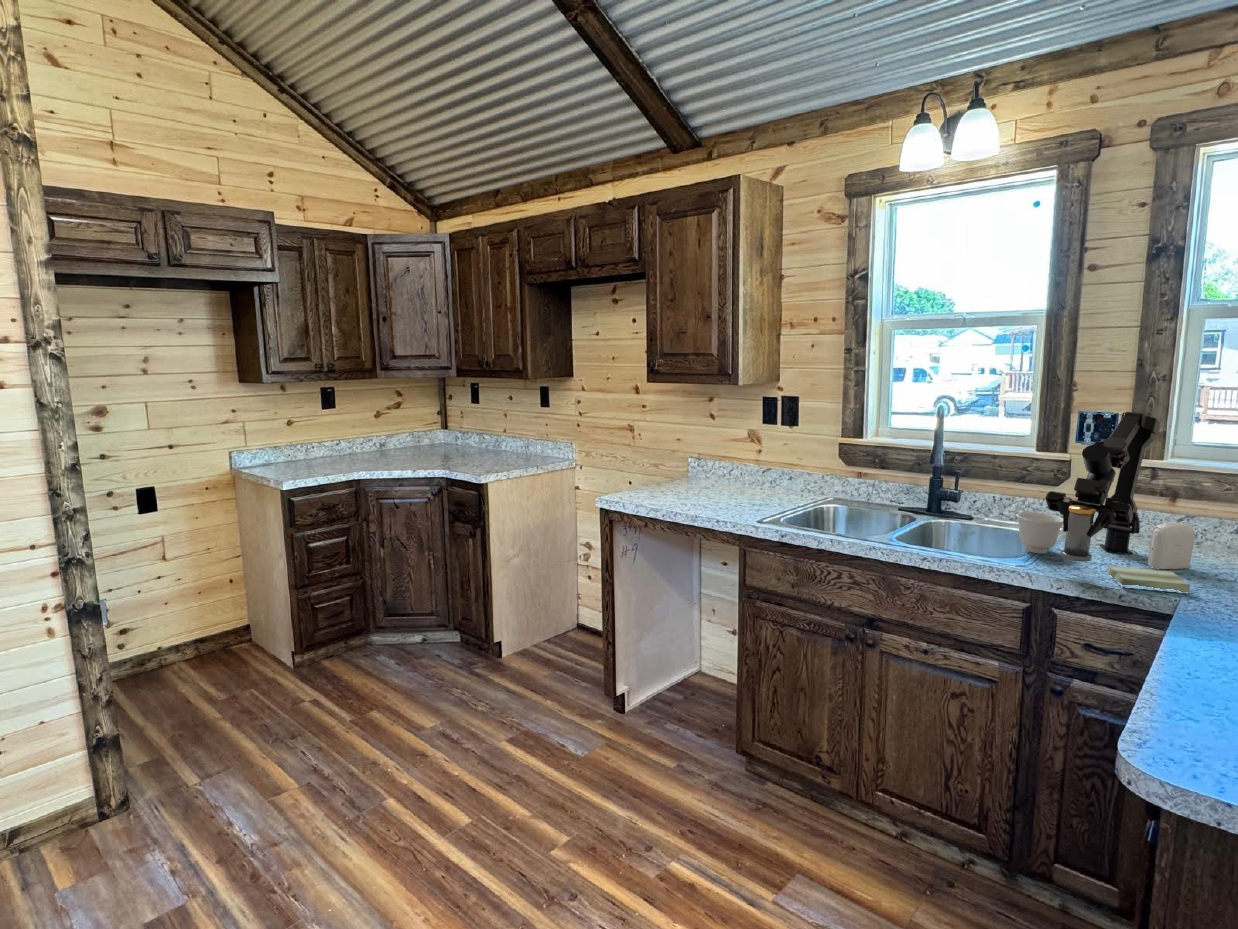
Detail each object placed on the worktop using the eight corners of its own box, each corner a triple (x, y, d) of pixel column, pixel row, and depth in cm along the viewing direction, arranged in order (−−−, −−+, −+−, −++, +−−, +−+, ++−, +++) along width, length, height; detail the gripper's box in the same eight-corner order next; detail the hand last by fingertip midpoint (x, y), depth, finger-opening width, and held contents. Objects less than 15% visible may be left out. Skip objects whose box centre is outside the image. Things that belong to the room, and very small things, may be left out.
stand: (1107, 575, 188) (1108, 565, 188) (1170, 580, 184) (1171, 571, 184) (1121, 588, 179) (1123, 578, 178) (1188, 594, 175) (1189, 584, 174)
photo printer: (1156, 570, 192) (1164, 525, 190) (1143, 565, 196) (1150, 521, 194) (1192, 569, 193) (1200, 525, 191) (1178, 564, 197) (1185, 520, 195)
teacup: (1060, 546, 213) (1064, 513, 211) (1060, 559, 200) (1065, 524, 198) (1013, 539, 219) (1017, 507, 217) (1011, 552, 206) (1015, 518, 204)
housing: (1056, 552, 190) (1063, 503, 187) (1086, 554, 188) (1092, 505, 186) (1064, 560, 184) (1071, 510, 181) (1095, 562, 182) (1102, 512, 179)
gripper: (1052, 460, 191) (1031, 508, 186) (1136, 472, 177) (1115, 523, 172) (1059, 485, 197) (1039, 532, 192) (1141, 498, 183) (1121, 548, 179)
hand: (1077, 533), depth 184 cm, fingers closed on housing, 5 cm apart
